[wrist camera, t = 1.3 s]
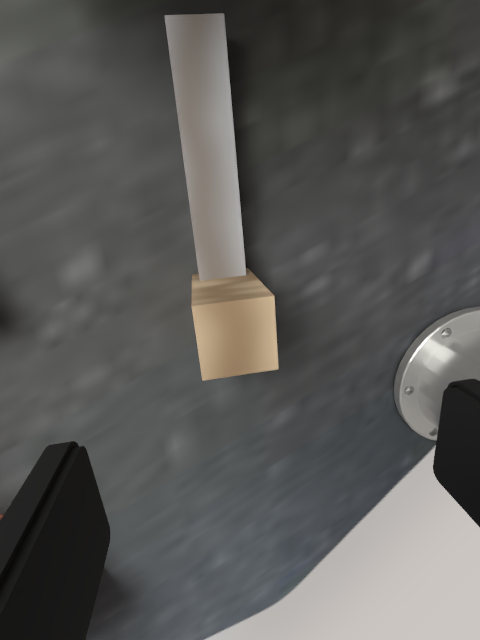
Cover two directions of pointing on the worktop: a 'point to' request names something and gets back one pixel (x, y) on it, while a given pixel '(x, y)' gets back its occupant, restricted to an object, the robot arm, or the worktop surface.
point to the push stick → (217, 206)
